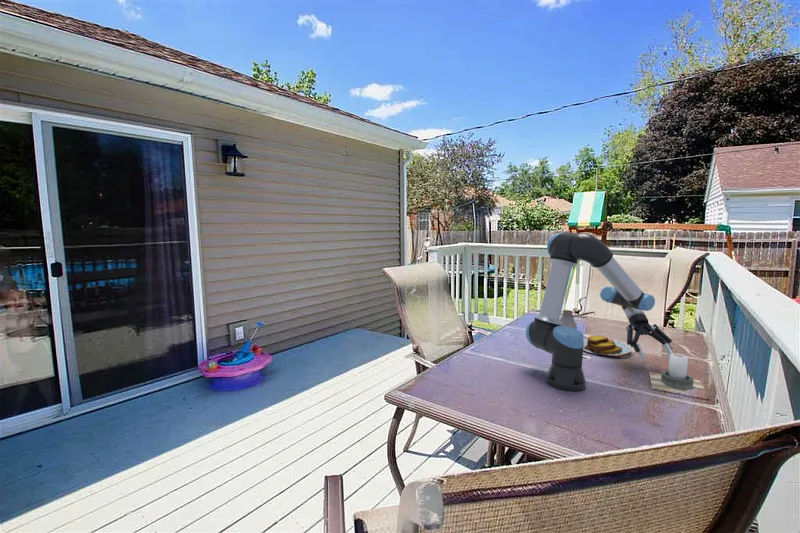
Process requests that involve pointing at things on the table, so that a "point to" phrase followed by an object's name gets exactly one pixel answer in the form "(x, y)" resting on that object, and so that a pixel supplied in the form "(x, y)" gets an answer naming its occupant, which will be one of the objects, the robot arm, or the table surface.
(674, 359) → the paper roll
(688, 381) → the roll holder
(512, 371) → the table surface
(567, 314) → the coffee pot
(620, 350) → the food on plate
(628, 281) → the robot arm
